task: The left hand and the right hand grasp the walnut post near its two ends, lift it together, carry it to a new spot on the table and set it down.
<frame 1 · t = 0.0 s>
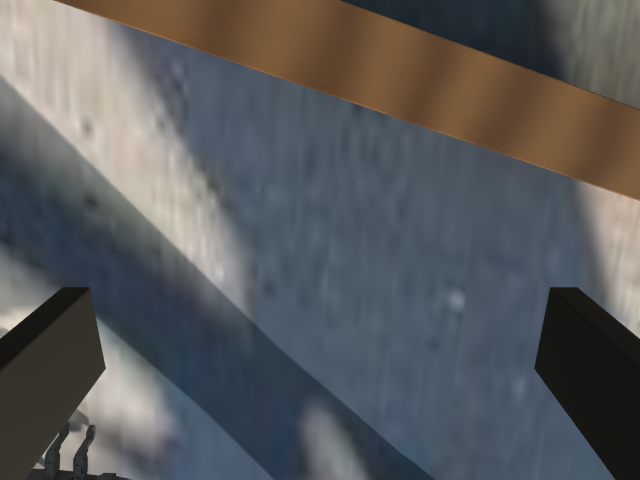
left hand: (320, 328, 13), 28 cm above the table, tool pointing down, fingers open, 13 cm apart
toy: (81, 471, 52), on the table
post: (475, 105, 38), on the table
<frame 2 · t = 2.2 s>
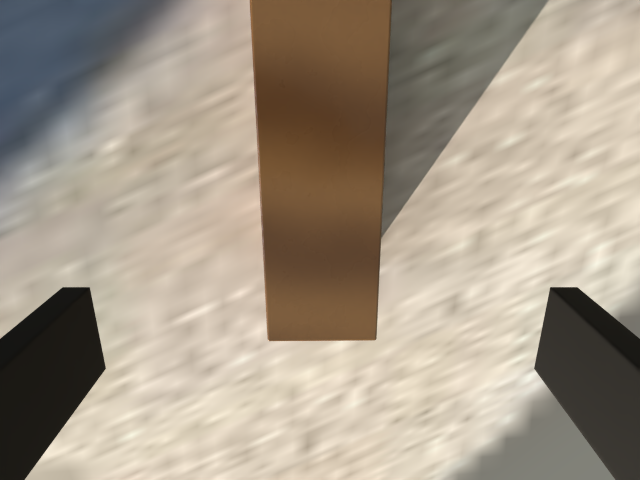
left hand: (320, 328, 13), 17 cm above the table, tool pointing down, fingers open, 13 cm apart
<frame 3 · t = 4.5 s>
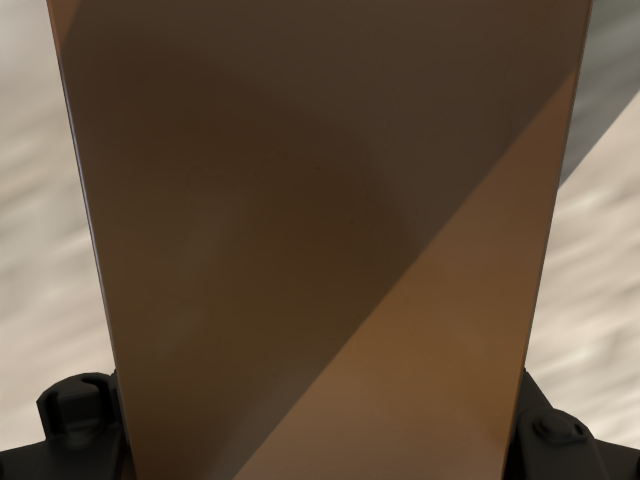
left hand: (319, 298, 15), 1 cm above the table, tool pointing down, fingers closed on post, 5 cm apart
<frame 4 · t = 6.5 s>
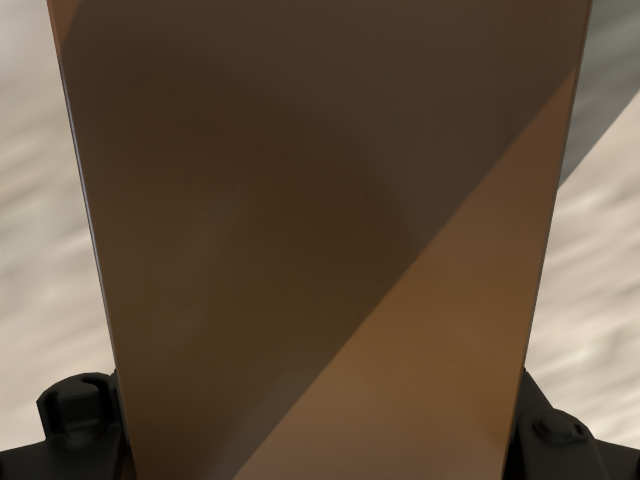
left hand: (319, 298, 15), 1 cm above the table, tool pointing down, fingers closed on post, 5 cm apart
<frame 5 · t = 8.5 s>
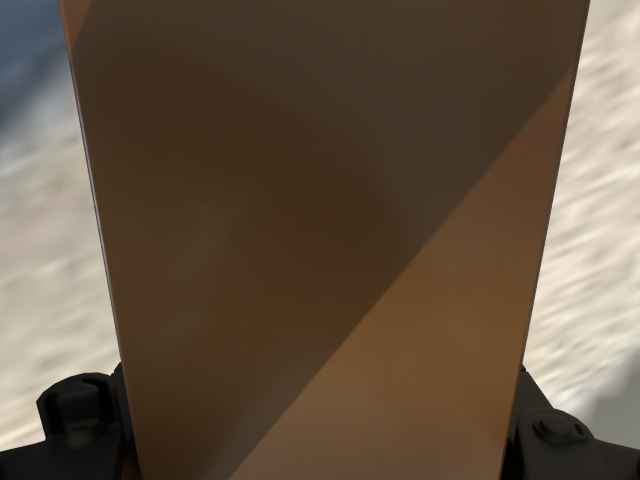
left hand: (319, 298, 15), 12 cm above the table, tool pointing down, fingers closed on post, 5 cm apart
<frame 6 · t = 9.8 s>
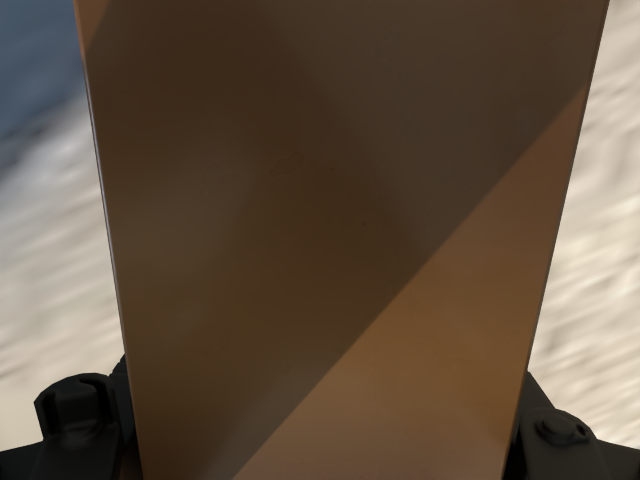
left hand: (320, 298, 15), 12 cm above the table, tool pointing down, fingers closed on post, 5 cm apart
when the left hand's fingers open (2 cm above the table, at t = 12.8 s): post drops 1 cm, on the table.
when the right hand's fingers open (5 cm above the table, at t = 13.0 s): post stays where it is, on the table.
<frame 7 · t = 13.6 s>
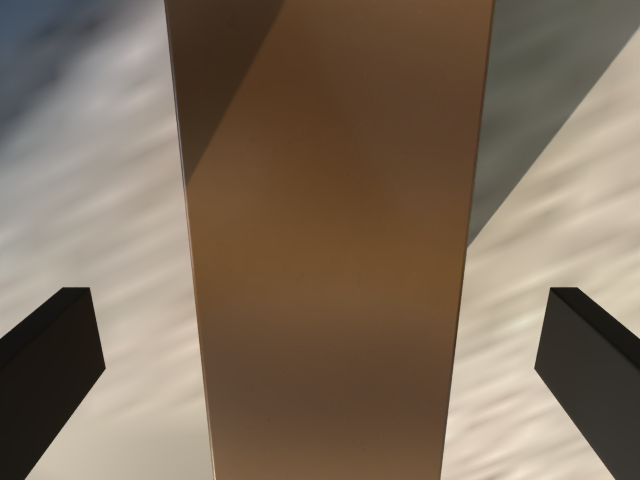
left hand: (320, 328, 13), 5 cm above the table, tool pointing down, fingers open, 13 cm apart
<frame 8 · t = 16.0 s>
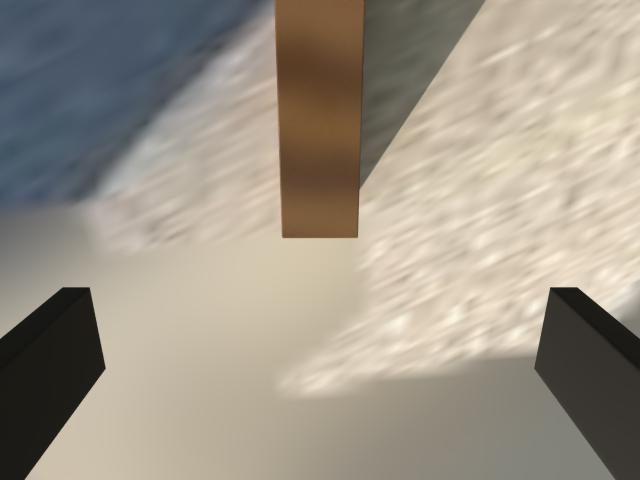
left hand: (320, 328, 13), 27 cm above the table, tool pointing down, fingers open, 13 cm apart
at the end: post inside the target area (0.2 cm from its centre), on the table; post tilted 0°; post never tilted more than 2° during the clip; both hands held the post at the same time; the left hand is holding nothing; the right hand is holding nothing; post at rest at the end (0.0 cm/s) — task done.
